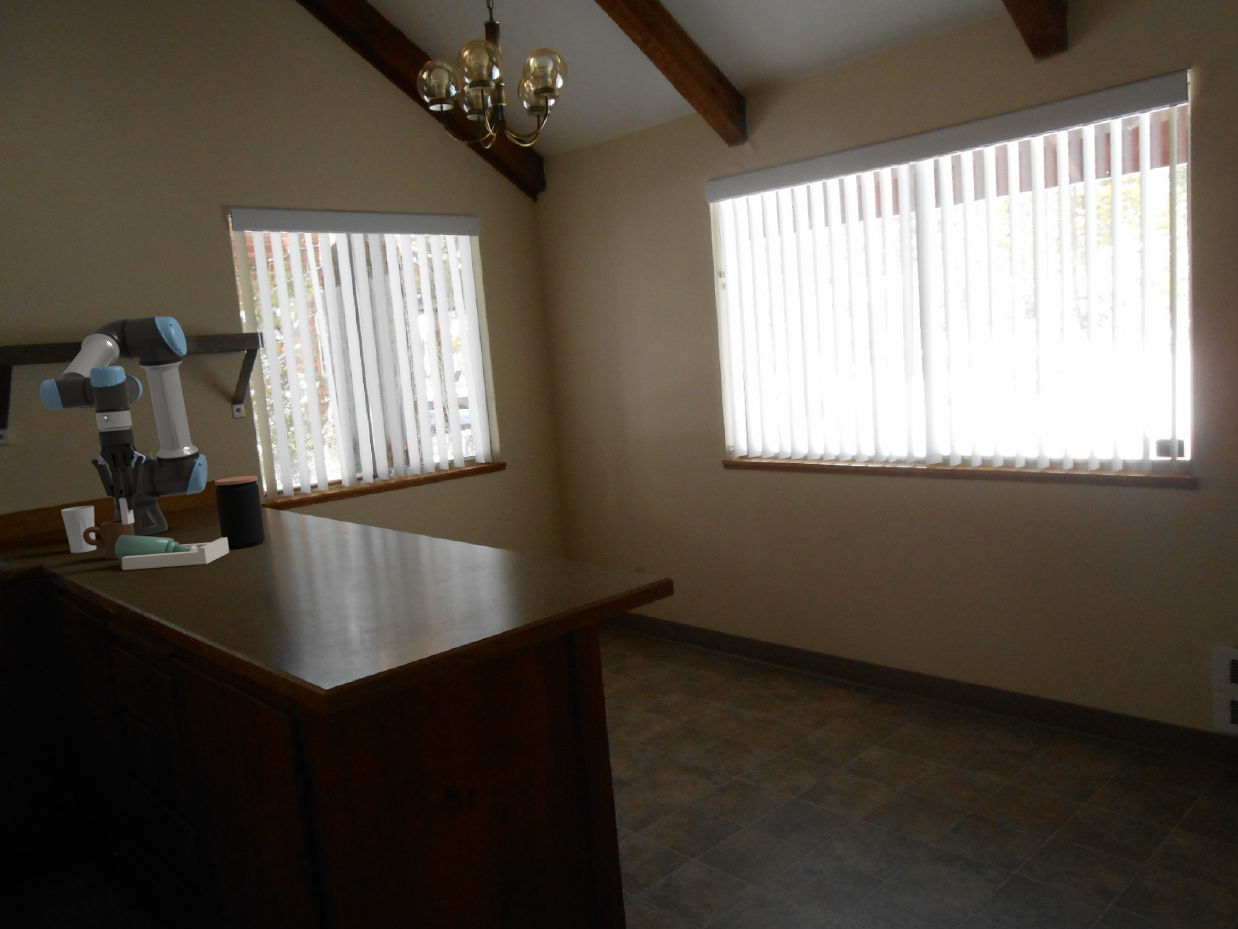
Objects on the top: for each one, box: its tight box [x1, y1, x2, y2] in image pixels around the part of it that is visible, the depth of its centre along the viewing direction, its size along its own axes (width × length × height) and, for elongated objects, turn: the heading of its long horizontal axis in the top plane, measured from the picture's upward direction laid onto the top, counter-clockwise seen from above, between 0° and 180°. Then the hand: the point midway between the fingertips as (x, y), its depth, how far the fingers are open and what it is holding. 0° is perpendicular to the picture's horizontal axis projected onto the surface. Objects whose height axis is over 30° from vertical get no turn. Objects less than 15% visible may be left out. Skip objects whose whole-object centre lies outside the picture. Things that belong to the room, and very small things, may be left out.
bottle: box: [115, 535, 198, 560], centre depth 231 cm, size 6×6×18 cm
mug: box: [83, 519, 135, 560], centre depth 243 cm, size 12×8×9 cm, turn 134°
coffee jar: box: [214, 475, 266, 550], centre depth 247 cm, size 11×11×18 cm
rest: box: [120, 537, 230, 571], centre depth 232 cm, size 13×22×4 cm, turn 89°
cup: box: [60, 505, 98, 554], centre depth 259 cm, size 8×8×12 cm
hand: (128, 523), depth 231 cm, fingers closed
